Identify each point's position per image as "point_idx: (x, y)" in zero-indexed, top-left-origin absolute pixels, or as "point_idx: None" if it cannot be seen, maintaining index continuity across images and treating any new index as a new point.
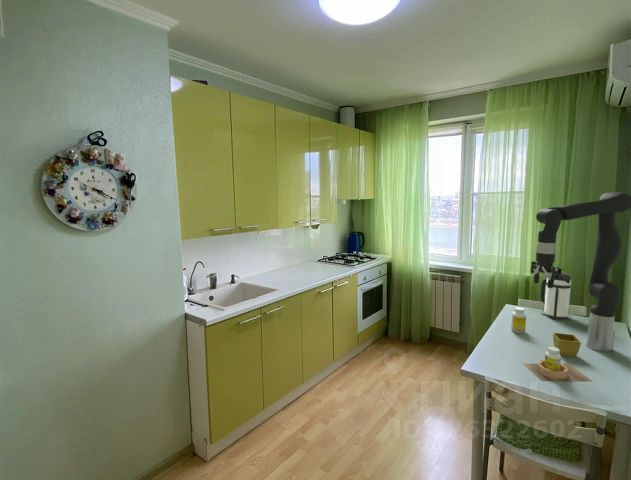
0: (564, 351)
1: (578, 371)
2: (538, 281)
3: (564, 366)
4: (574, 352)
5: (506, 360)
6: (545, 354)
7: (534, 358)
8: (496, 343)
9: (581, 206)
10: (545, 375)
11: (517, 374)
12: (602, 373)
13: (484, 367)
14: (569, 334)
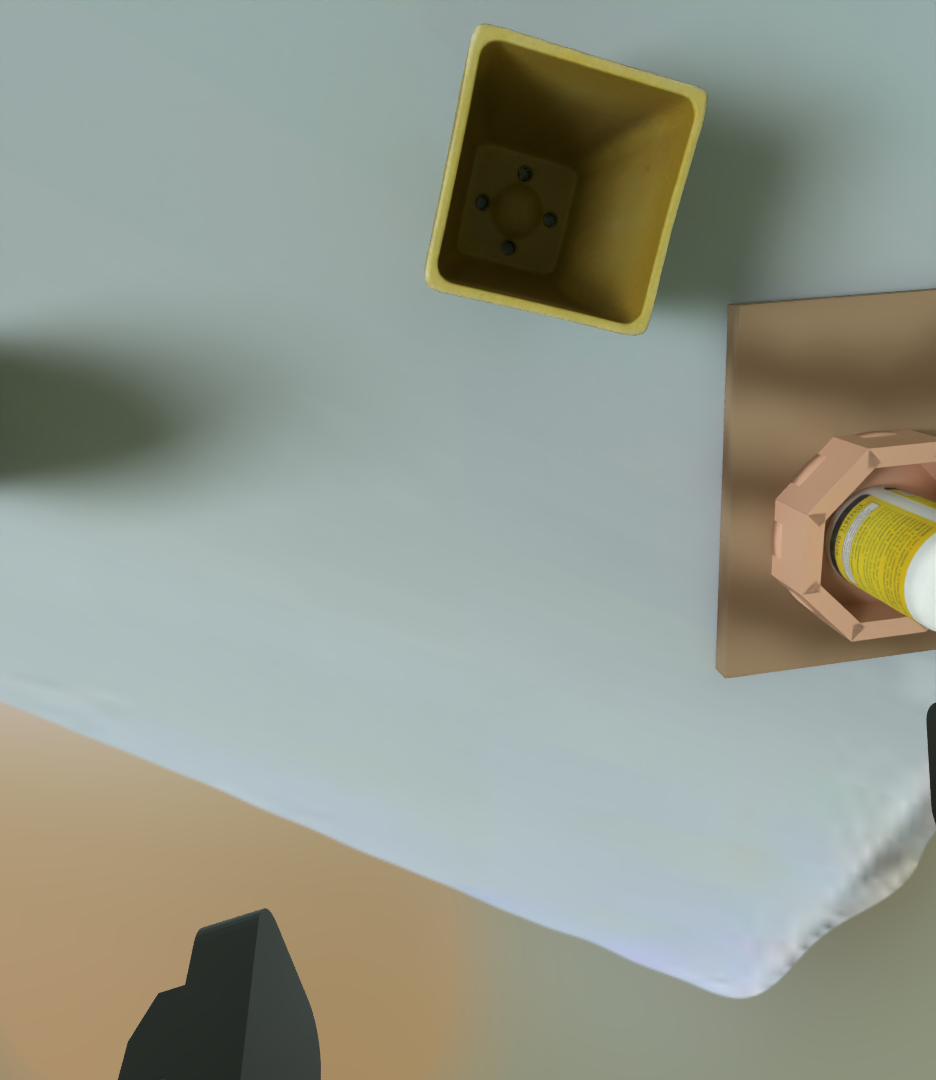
0: (606, 262)
1: (862, 307)
2: (263, 967)
3: (916, 455)
4: (632, 168)
5: (628, 748)
6: (931, 629)
7: (590, 528)
8: (313, 736)
9: None
10: None
11: (822, 739)
12: (850, 73)
13: (726, 905)
14: (470, 87)
